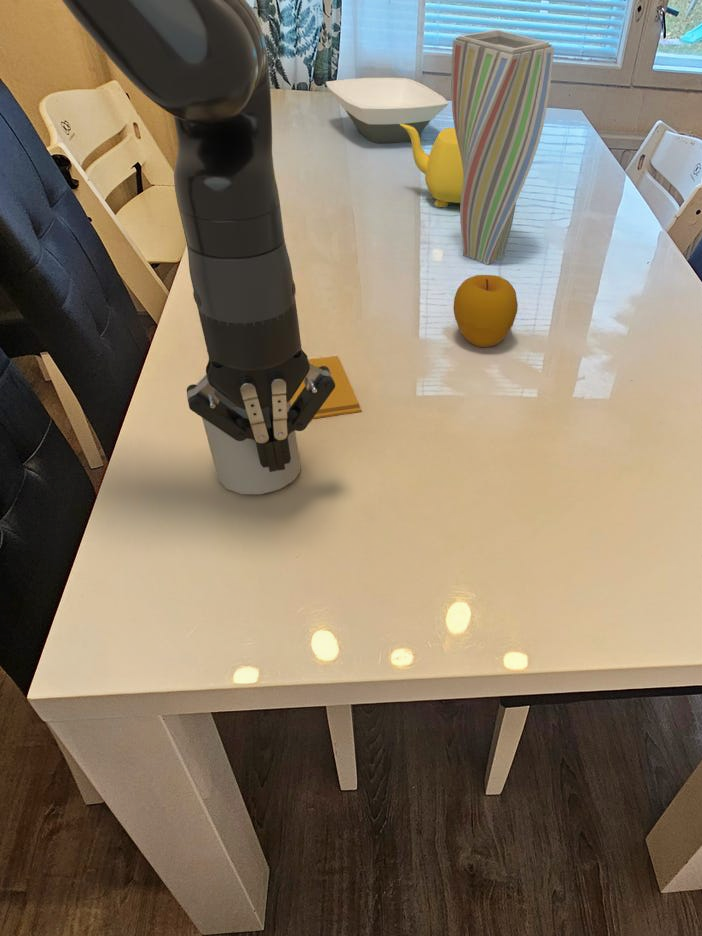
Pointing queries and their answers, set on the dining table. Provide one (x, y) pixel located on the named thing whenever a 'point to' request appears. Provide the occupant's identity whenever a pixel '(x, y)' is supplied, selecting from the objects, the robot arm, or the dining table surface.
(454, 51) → the vase
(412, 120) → the bowl
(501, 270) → the dining table surface
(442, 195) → the teapot
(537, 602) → the dining table surface
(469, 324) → the apple
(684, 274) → the dining table surface
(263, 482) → the cup
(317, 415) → the orange rectangular slab
